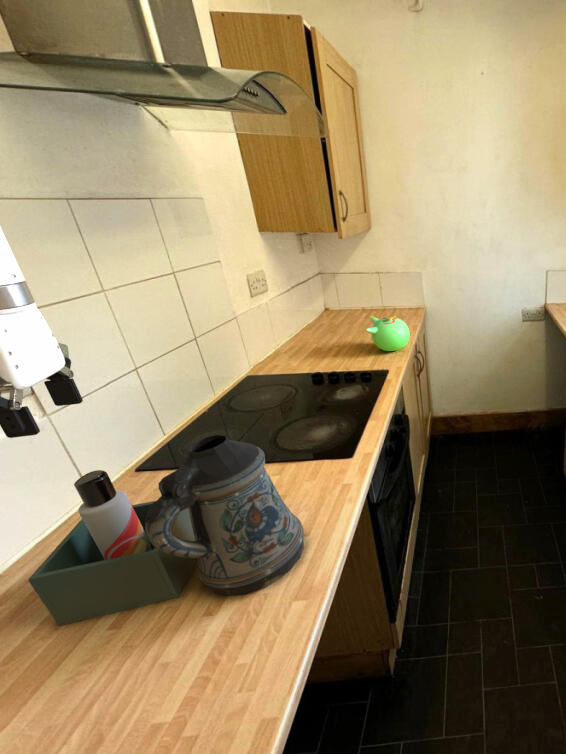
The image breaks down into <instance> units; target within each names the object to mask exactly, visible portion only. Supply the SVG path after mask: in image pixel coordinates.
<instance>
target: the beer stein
mask: <svg viewBox="0 0 566 754" xmlns="http://www.w3.org/2000/svg"><path fill="white" fill-rule="evenodd" d="M265 466H266V455H265V452H264V450H262V448H260V447H259V446H256V445H255V444H252V443H250V442H245V441H244V442H243V441H237V440H232V439H229V438H228V437H227V436H226V435H219V434H216V435H211V436H207V437H204V438H202V439H200V440H198V441H195V443H194V444H192V445H191V447H190V448H189V452H188V456H187V457H186V459H185V460H184V462H183V463H182V464H181V465H180V467H179V468H177V469H176V470H174V471H173V472H171V473H169V474H167V475H165V476H163V477H162V479H160V481H159V482H158V490H159V492H160V496H159V498H158V499H157V500H154V501H155V502H154V503H153V504H152V506H151V507H150V508H149V509H148V511H147V513H146V518H145V521H146V523H145V528H146V535H147V537H148V539H149V541H150V542H151V543H152V544H153V545H154V546H155V547H156V548H157V549H159V550H161V551H162V552H165V553H168V554H171V555H174V556H178V557H185V558H197V559H196V561H195V563H196V564H195V571H196V574H197V576H198V578H199V580H200V581H201V582H202V583H203V584H204V585H205V586H206V587H207V588H208V589H209V590H210V591H211V592H213V593H214V594H217V595H221V596H224V597H225V596H226V597H234V596H243V595H248V594H251V593H254V592H256V591H260V590H262V589H265V588H268V587H269V586H271V585H272V584H274V583H275V582H278V580H280V579H281V578H283V577H285V575H286V574H287V573H289V572H290V571H291V570H292V569H293V568H294V566H295V565H296V564H297V562H299V560H300V559H301V556H302V554H303V551H304V549H305V541H304V536H305V535H304V534H305V532H304V525H303V524H302V522H301V520H300V519H299V518H298V517H297V515H295V514H294V513H293V512H292V511H291V509H289V507H288V506H287V504H286V503H285V502H284V500H283V499H282V497H281V495H280V493H279V491H278V490H277V487H276V486H275V484H274V482H273V480H272V479H271V477H270V475H269V473H268V471H266V468H265ZM187 508H188V509H189V514H190V519H191V524H192V528H193V532H194V536H195V540H196V541H189V540H182V539H180V538H178V537H176V536H174V535H173V534H172V533H171V524H172V521H173V519H174V517H175V516H176V515H177V513H178V512H180V511H183V510H185V509H187Z"/></svg>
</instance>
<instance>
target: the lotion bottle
mask: <svg viewBox="0 0 566 754" xmlns="http://www.w3.org/2000/svg"><path fill="white" fill-rule="evenodd" d="M73 487H74V488H75V490H76V491H77V494H78V496H80V500H81V501H82V504H80V505H79V508H78V513H79V516H80V517H81V519H83V521H84V523H85V525H86V527H87V528H88V530H89V532H90V534H91V536H92V537H93V539H94V541H95V543H96V545H97V546H98V548H99V550H100V552H101V554H102V555H103V557H104V559H105V560H108V559H113V558H118V557H122V556H127V555H132V554H136V553H141V552H146V551H151V550H153V548H152V546H151V544H150V542H149V540H148V537H147V535H146V533H145V531H144V529H143V527H142V525H141V523H140V521H139V519H138V517H137V515H136V513H135V511H134V509H133V506H132V505H133V504H132V503H131V500H130V499H129V496H128V494H127V492H125V491H124V490H121V489H118V490H117V489H116V488H115V486H114V484H113V482H112V481H111V478H110V476H109V474H108V473H107V471H105V470H101V469H98V470H92V471H90V472H87V473H85V474H84V475H82V476H81V477H79V478H78V479H77V480H76V481H75V482H74V483H73Z"/></svg>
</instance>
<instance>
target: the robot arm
mask: <svg viewBox="0 0 566 754" xmlns="http://www.w3.org/2000/svg"><path fill="white" fill-rule="evenodd" d="M71 366H72V360H71V358H70V353H69V347H68V345H67V344H65V343H61V342H58V341H57V339H56V336H55V334H54V333H53V331H52V329H51V327H50V326H49V324H48V322H47V320H46V319H45V318H44V316H43V314H42V313H41V311H40V309H39V308H38V307H37V302H36V300H35V298H34V296H33V294H32V291H31V289H30V288H29V285H28V283H27V281H26V278H25V277H24V274H23V272H22V270H21V268H20V265H19V264H18V260H17V259H16V256H15V255H14V253H13V250H12V248H11V246H10V243H9V242H8V239H7V237H6V235H5V233H4V231H3V228H2V226H1V225H0V428H1V430H2V431H3V433H4V435H5V436H6V437H7V438H9V439H14V438H21V437H23V438H24V437H30V436H31V437H32V436H36V435H38V434H39V433H40V432H41V430H40V427H39V425H38V423H37V421H36V420H35V418H34V416H33V414H32V412H31V410H30V408H29V407H28V405H24V406H23V398H24V390H27V389H29V388H32V387H33V386H35V385H37V384H38V383H40V382H42V381H43V383H44V386H45V388H46V389H47V392H48V394H49V396H50V398H51V400H52V402H53V404H54V405H55V406H57V407H62V406H71V405H72V406H73V405H79V404H81V403H83V402H84V399H83V397H82V394H81V393H80V390H79V388H78V385H77V383H76V381H75V379H74V376H75V374H74V371H73V370H72V369H71ZM44 380H45V381H44ZM2 394H9V397H8V398H6V397H3V396H2Z"/></svg>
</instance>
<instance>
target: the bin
mask: <svg viewBox="0 0 566 754" xmlns="http://www.w3.org/2000/svg"><path fill="white" fill-rule="evenodd" d="M155 501H156V500H154V501H147V502H141V503H137V504H132V506H133V509H134V511H135V513H136V515H137V517H138V519H139V521H140V523H141V525H142V527H143V529H144V531H145V533H146V528H145V523H146V521H145V518H146V513H147V511H148V509H149V508H150V507H151V506H152V504H153V503H154V502H155ZM171 533H172V534H173V535H174V536H176V537H178V538H180V539H182V540H189V541H196V540H195V536H194V532H193V528H192V524H191V519H190V514H189V509H188V508H187V509H185V510H183V511H180V512H178V513H177V515H176V516H175V517H174V519H173V521H172V524H171ZM148 540H149V539H148ZM149 542H150V541H149ZM150 544H151V546H152V548H153V550H151V551H146V552H141V553H136V554H132V555H127V556H122V557H118V558H113V559H108V560H105V559H104V557H103V555H102V554H101V552H100V550H99V548H98V546H97V545H96V543H95V541H94V539H93V537H92V536H91V534H90V532H89V530H88V528H87V527H86V525H85V523H84V521H83V519H82V518H81V519H79V521H78V522H77V523H76V525H75V526H74V527H73V528H72V529H71V530H70V531H69V533H67V535H66V536H65V537H64V538H63V539H62V541H60V542H59V544H58V545H57V546H56V547H55V548H54V549H53V551H51V553H50V554H49V555H48V556H47V557H46V558H45V560H44V561H43V562H42V563H41V564H40V565H39V566H38V568H37V569H36V570H35V571H34V572H33V573H32V574H31V575H30V576H29V578H27V581H28V583H29V585H31V587H32V589H33V590H34V592H35V593H36V595H37V596H38V598H39V599H40V600H41V602H42V603H43V605H44V606H45V608H46V609H47V611H48V612H49V614H50V616H51V617H52V618H53V619H54V621H55V623H56V624H57V626H58V627H61V626H65V625H69V624H74V623H78V622H82V621H86V620H90V619H94V618H98V617H102V616H106V615H111V614H115V613H119V612H123V611H128V610H131V609H135V608H139V607H145V606H148V605H152V604H156V603H160V602H164V601H168V600H173V599H178V598H179V597H180V595H181V593H182V591H183V590H184V589H183V588H184V586H185V584H186V582H187V580H188V578H189V576H190V574H191V571H192V569H193V567H194V565H195V563H196V561H197V558H185V557H178V556H174V555H171V554H168V553H165V552H162V551H161V550H159V549H157V548H156V547H155V546H154V545H153V544H152V543H151V542H150Z"/></svg>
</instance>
